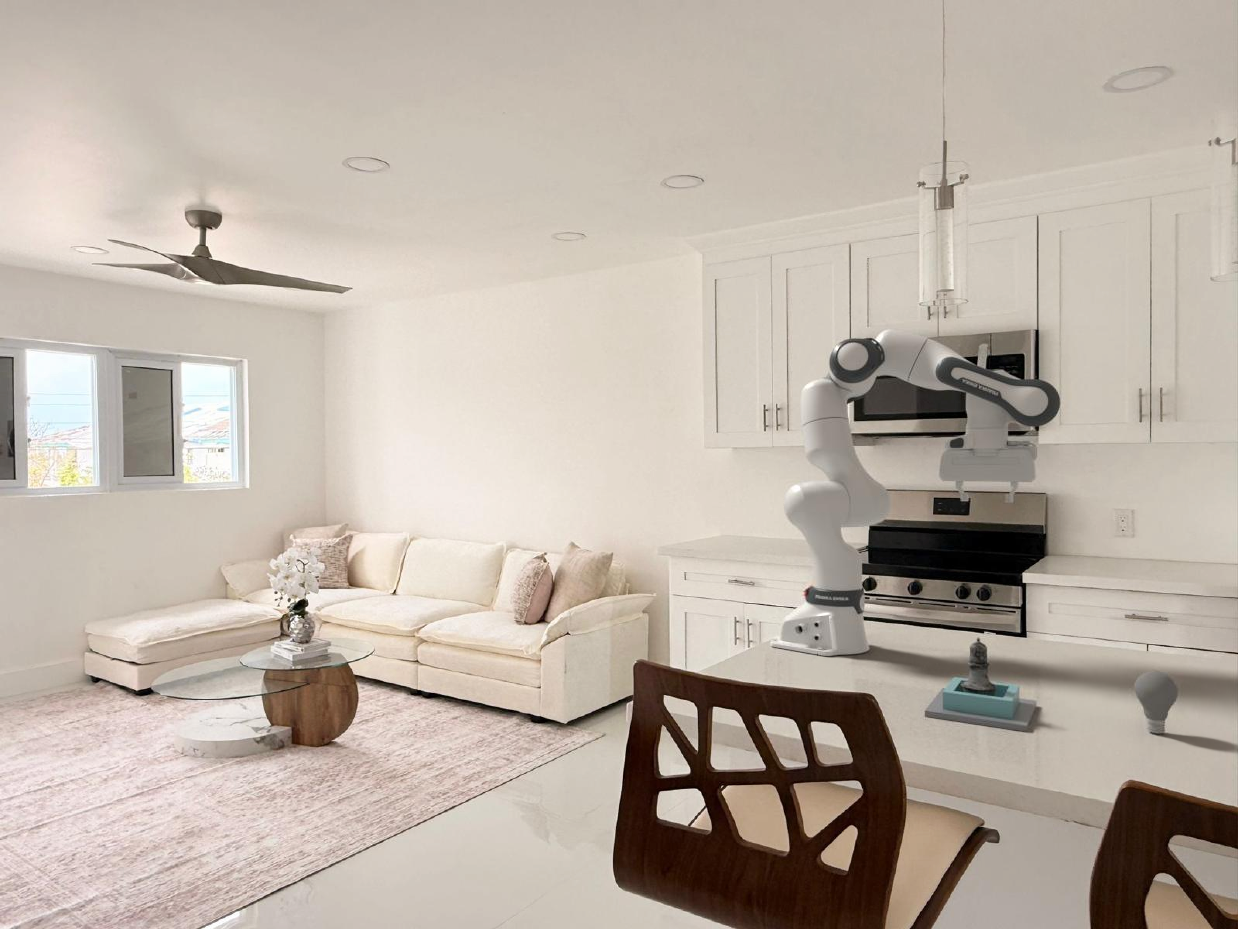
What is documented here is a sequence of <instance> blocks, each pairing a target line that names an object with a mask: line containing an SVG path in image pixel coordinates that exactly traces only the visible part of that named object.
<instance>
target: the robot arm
mask: <svg viewBox="0 0 1238 929" xmlns="http://www.w3.org/2000/svg"><path fill="white" fill-rule="evenodd" d="M828 363H829V364H828V366H829V367H828V368H829V369H828V374H827V375H825V377H823V378H821V379H820V378H818V379H815V380H812V381H810V382H808V383H807V384H806V385H804V387H803V388H802V389H801V393H800V404H799V405H800V407H799V410H800V424H801V430H802V438H803V443H804V444H803V445H804V453H805V457H806V459H807V460H808V462H809V463H810V464H811V465H813V466H815V467H816V468H818V469H820V471H822V473H824V474H825V476H826V477H827V478H828V480H811V481H806V482H805V481H804V482H801V483H797V484H794V485H792V486H790V488H789V489H788V490H787V492H786V494H785V496H784V499H783V500H784V501H783V509H784V513H785V516H786V518H787V519H788V520H789V522H790V523H791V524H792V526H794V527H795V528H797V529H798V530H799V531H800V532H801V533H802V535H803V537H804V538H805V540H806V542H807V544H808V547H809V550H810V553H811V562H812V584H811V585H809V586H808V587H807V588H806V589H805V590H804V591H803V596H804V599H805V601H804V602H803V603H801V604H800V605H798V606H797V607H796V608H795V609H793V610H792V611H790V613H788V614H786V615H785V616H784V617H783V619H782V622H781V625H780V630H779V634H777V635H775V636H773V637H772V638H771V639H770V643H769V645H770V646H771V647H773V648H778V649H779V648H780V649H784V650H785V649H786V650H789V651H796V652H802V653H808V654H812V655H817V654H818V655H819V656H825V657H832V656H838V655H842V656H843V655H856V654H857V655H858V654H862V653H866V652H868V651H870V646H869V643H868V638H867V635H866V628H865V620H864V612H865V597H866V596H865V589H864V587H863V558H862V556H861V553H860V552H859V551H858V549H857V548H855V547H854V546H853V545H851V544H849V543H847V542H845V540H844V538H843V534H842V528H863V527H868V526H873V525H876V524H880V523H882V522H884V521H885V520H886V518H887V517H888V515H889V513H890V510H891V498H890V494H889V491H888V490H887V488H886V487H885V486H884V485H883V484H882V483H880V482H878V481H877V480H875V479H874V478H873V477H872V476H871V475H870V474H869V473H868V472H867V470H866V469H865V468H864V466H863V464H862V463H861V461H860V459H859V457H858V455H857V453H856V449H855V445H854V441H853V437H852V436H853V435H852V430H851V426H850V425H851V424H850V419H849V414H848V404H850V403H853V402H855V401H857V400H860V399H862V398H864V397H866V396H867V395H869V393H871V391H872V390H873V389H874V386H875V384H876V380H877V379H876V378H877V377H881V376H890V377H896V378H898V379H900V380H903V381H905V382H907V383H910V384H912V385H914V386H918V387H921V388H924V389H928V390H933V391H958V392H962V393H966V394H965V411H966V412H965V413H966V414H967V415H966V416H967V422H966V425H965V433H964V434H963V435H958V436H955V437H953V438H950V439H947V440H945V441H944V448H945V451H943V453H942V454H941V457H940V463H939V472H938V477H939V479H940V480H942V481H943V482H955V488H956V489H957V491H958V493H959V494H960V502H969V500H970V499H969V498H970V497H969V493H968V492H965V491H964V489H963V487H962V486H964V482H988V483H989V482H992V483H993V482H994V483H995V482H996V483H998V482H1001V483H1003V482H1004V483H1010V487H1011V488H1012V489H1011V490H1010V492H1009V493H1006V494H1004V498H1005V499H1004V502H1005V503H1013V502H1014V494H1015V493H1016V491H1017V490H1018V489H1019V483H1032V482H1033V481H1035V480H1036V478H1037V474H1036V464H1035V460H1036V459H1037V457H1038V447H1037V446H1036V444H1035V443H1032V442H1030V441H1029V440H1020V441H1019V440H1008V439H1009V438H1008V437H1009V424H1012V423H1013V424H1017V425H1020V426H1023V427H1024V426H1025V427H1030V428H1033V427H1034V428H1035V427H1041V426H1044V425H1047V424H1049V423H1050V422H1051V421H1053V420H1054V419H1055V417H1056V416H1057V415H1058V413H1059V410H1060V408H1061V397H1060V395H1059V393H1058V390H1057V389H1056V388H1055V387H1054V386H1053V385H1052V384H1051V383H1050V382H1048V381H1045V380H1043V379H1039V378H1038V379H1037V378H1036V379H1033V378H1028V379H1021V378H1018V377H1016V376H1014V375H1011V374H1010V373H1008V372H1007V371H1005V369H1001V368H995V369H988V368H985V367H982V366H979V365H977V364H975V363H973V362H971V361H969V360H967V359H966V358H965V357H963V356H962V355H960V354H959V353H958V352H956V351H954V350H953V349H952V348H949V347H948V346H946V345H944V344H943V343H940V342H938V341H936V340H933V339H931V338H929V337H926V336H922V335H920V334H917V333H914V332H909V331H907V330H902V329H896V328H888V329H885V330H883V331H881V332H880V333H879V334H878V335H877V336H876V337H875V338H873V337H866V338H859V337H858V338H847V339H843V340H842V341H840V342H839V343H838V344H836V346H834V348H833V349H832V352H831V353H830V356H829V362H828Z"/></svg>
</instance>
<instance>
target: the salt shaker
mask: <svg viewBox="0 0 1238 929" xmlns="http://www.w3.org/2000/svg"><path fill="white" fill-rule="evenodd" d="M975 640H976V641H975V642H973V643H971V644H970V646H969V661H967V665H969V674H968V678H967V679H968V680H967V681H964V682H962V683H961V686H963V691H964V692H965V693H972V694H980V695H987V696H994V694H995V689H996V688H997V686H996V685H995V684H992V683H991V682H992V681H990V679H989V674H988V672H989V671H988V670H989V666H990V663H989V662H988V646H987V645H986V644H984V643H983V642H981V639H980V638H979V636H978V637H977V638H976V639H975Z"/></svg>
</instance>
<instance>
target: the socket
mask: <svg viewBox="0 0 1238 929" xmlns="http://www.w3.org/2000/svg"><path fill="white" fill-rule="evenodd" d="M967 680H968V678H965V677H955V676H954V677H953V678H952V680H951V681H950V682H948V684H947V686H945V687H942V688H941V689H940V691H939V692H937V694H936V696H935V697H934V698H933V700H932V701H931V702H930V703H929V705H928V706H927V707H926V708H925V710H924V717H928V718H933V719H941V720H946V721H952V722H954V721H955V722H959V723H966V724H971V725H972V724H973V725H978V726H980V725H981V726H984V727H985V726H986V727H992V728H999V729H1005V730H1013V731H1020V732H1025V733H1026V732H1028V730H1029V728H1030V724H1031V722H1032V719H1033V716H1034V713H1035V711H1036V708H1037V700H1035V699H1026V698H1020V685H1019V684H1010V683H1002V682H995V681H990V682H991V683H992V684H995V685H996V686H997V688H996V689H995V694H994V696H987V695H980V694H972V693H965V692H964V691H963V686H961V683H962V682H964V681H967Z"/></svg>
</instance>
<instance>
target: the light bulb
mask: <svg viewBox="0 0 1238 929" xmlns="http://www.w3.org/2000/svg"><path fill="white" fill-rule="evenodd" d="M1133 687H1134V693H1135V696H1136V698H1137V699H1138V701H1139V702H1140V704H1141V706H1142V708H1143V714H1144V716H1145V718H1146V720H1145V721H1146V730H1147V731H1149V732H1151V734H1157V735H1160V734H1162V733H1165V732H1166V730H1165V729H1166V727H1165V726H1166V725H1165V724H1166V719H1167V718H1168V716H1169V711H1170V709H1171V708H1172V706H1174V705H1175V703H1176V701H1177V699H1178V696H1179V689H1178V687H1177V684H1176V682H1175V681H1174V679H1173V678H1171V677H1170V676H1169V675H1168V674H1166V673H1164V672H1162V671H1158V670H1149V671H1145V672H1143V673H1141V674H1139V676H1138V677H1137V678H1136V680H1135V682H1134V686H1133Z"/></svg>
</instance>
